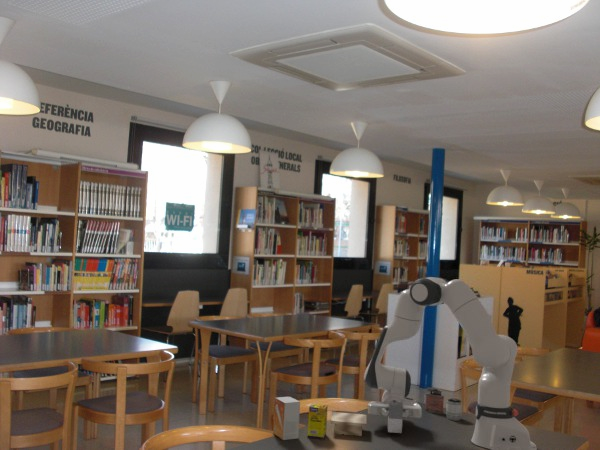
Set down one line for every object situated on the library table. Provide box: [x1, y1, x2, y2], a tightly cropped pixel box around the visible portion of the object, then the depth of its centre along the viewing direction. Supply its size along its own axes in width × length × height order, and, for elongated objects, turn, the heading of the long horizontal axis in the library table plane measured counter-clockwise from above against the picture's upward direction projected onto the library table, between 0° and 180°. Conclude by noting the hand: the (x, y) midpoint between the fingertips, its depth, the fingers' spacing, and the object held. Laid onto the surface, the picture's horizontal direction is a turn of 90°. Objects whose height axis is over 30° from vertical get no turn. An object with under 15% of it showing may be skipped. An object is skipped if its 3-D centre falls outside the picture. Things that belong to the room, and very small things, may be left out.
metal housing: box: [387, 402, 404, 434], centre depth 239 cm, size 5×5×10 cm
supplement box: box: [307, 403, 329, 440], centre depth 232 cm, size 6×6×11 cm
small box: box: [272, 396, 301, 441], centre depth 230 cm, size 8×6×13 cm
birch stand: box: [330, 411, 368, 437], centre depth 241 cm, size 13×13×5 cm
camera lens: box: [445, 398, 463, 421], centre depth 269 cm, size 6×6×8 cm
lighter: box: [424, 387, 445, 415], centre depth 278 cm, size 8×3×10 cm, turn 58°
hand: (395, 414), depth 239 cm, fingers closed on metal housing, 5 cm apart
